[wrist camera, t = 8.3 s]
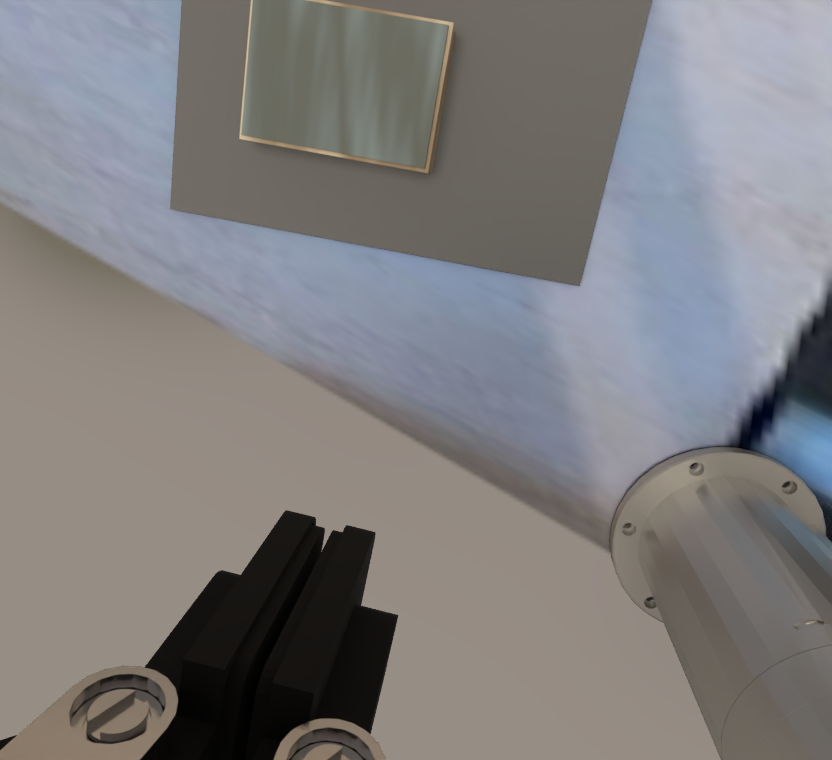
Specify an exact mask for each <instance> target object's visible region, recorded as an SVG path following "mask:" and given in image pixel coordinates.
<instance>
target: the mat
mask: <svg viewBox="0 0 832 760" xmlns="http://www.w3.org/2000/svg"><path fill="white" fill-rule="evenodd" d="M326 1H332V2H337V3H343V4H349V5H355V6H361V7H366V8H372V9H378V10H384V11H390V12H395V13H401V14H407V15H413V16H418V17H424V18H430V19H436V20H442V21H447V22H453V23H454V27H455V33H456V36H455V42H454V47H453V53H452V59H451V65H450V70H449V76H448V82H447V88H446V94H445V99H444V105H443V111H442V117H441V123H440V128H439V134H438V140H437V146H436V151H435V157H434V163H433V169H432V174H428V173H423V172H417V171H412V170H406V169H401V168H395V167H390V166H384V165H379V164H373V163H368V162H362V161H357V160H351V159H346V158H340V157H335V156H330V155H324V154H319V153H313V152H308V151H302V150H297V149H291V148H286V147H280V146H275V145H269V144H264V143H258V142H253V141H248V140H243V139H239V136H240V124H241V112H242V100H243V89H244V77H245V65H246V53H247V41H248V29H249V17H250V5H251V0H182V6H181V24H180V42H179V60H178V79H177V97H176V115H175V133H174V151H173V169H172V187H171V205H170V209H173V210H178V211H183V212H189V213H194V214H199V215H205V216H210V217H215V218H221V219H226V220H231V221H237V222H242V223H247V224H252V225H258V226H263V227H268V228H274V229H279V230H284V231H290V232H295V233H300V234H306V235H311V236H316V237H321V238H327V239H332V240H337V241H343V242H348V243H353V244H359V245H364V246H369V247H375V248H380V249H385V250H390V251H396V252H401V253H406V254H412V255H417V256H422V257H428V258H433V259H438V260H444V261H449V262H454V263H460V264H465V265H470V266H475V267H481V268H486V269H491V270H497V271H502V272H507V273H513V274H518V275H523V276H529V277H534V278H539V279H544V280H550V281H555V282H560V283H566V284H571V285H576V286H580V282H581V278H582V274H583V270H584V267H585V263H586V259H587V255H588V251H589V247H590V243H591V239H592V235H593V231H594V227H595V223H596V219H597V215H598V211H599V207H600V203H601V199H602V195H603V191H604V188H605V184H606V180H607V176H608V172H609V168H610V164H611V160H612V156H613V152H614V148H615V144H616V140H617V136H618V132H619V128H620V124H621V120H622V116H623V112H624V108H625V105H626V101H627V97H628V93H629V89H630V85H631V81H632V77H633V73H634V69H635V65H636V61H637V57H638V53H639V49H640V45H641V41H642V37H643V33H644V29H645V26H646V22H647V18H648V14H649V10H650V6H651V2H652V0H326Z"/></svg>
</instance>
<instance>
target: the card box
mask: <svg viewBox="0 0 832 760" xmlns="http://www.w3.org/2000/svg"><path fill="white" fill-rule="evenodd" d="M455 36H456V33H455V27H454V23H453V22H447V21H442V20H436V19H430V18H424V17H418V16H413V15H407V14H401V13H395V12H390V11H384V10H378V9H372V8H366V7H361V6H355V5H349V4H343V3H337V2H332V1H326V0H251V5H250V17H249V29H248V41H247V53H246V65H245V77H244V89H243V100H242V112H241V124H240V136H239V139H243V140H248V141H253V142H258V143H264V144H269V145H275V146H280V147H286V148H291V149H297V150H302V151H308V152H313V153H319V154H324V155H330V156H335V157H340V158H346V159H351V160H357V161H362V162H368V163H373V164H379V165H384V166H390V167H395V168H401V169H406V170H412V171H417V172H423V173H428V174H432V169H433V163H434V157H435V151H436V146H437V140H438V134H439V128H440V123H441V117H442V111H443V105H444V99H445V94H446V88H447V82H448V76H449V70H450V65H451V59H452V53H453V47H454V42H455Z"/></svg>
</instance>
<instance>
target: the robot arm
mask: <svg viewBox="0 0 832 760" xmlns="http://www.w3.org/2000/svg"><path fill="white" fill-rule="evenodd" d="M693 463H696V464H695V465H694V466H691V464H693ZM785 482H786V483H785ZM626 523H629V524H628V525H624V524H626ZM324 532H325V529H324V528H322V527H318V526H316V519H315V517H312V516H307V515H303V514H299V513H295V512H291V511H285V512H284V513H283V515H282V516H281V517H280V519H279V520H278V522H277V523H276V525H275V526H274V528H273V529H272V530H271V532H270V533H269V535H268V536H267V538H266V539H265V541H264V542H263V544H262V545H261V546H260V548H259V549H258V551H257V552H256V554H255V555H254V557H253V558H252V560H251V561H250V562H249V564H248V565H247V567H246V568H245V570H244V571H243V573H242V574H241V575H238V574H234V573H230V572H226V571H223V570H222V571H219V572H217V573H216V574H215V576H214V577H213V578H212V579H211V581H210V582H209V583H208V585H207V586H206V587H205V589H204V590H203V591H202V593H201V594H200V595H199V596H198V598H197V599H196V600H195V602H194V603H193V604H192V606H191V607H190V608H189V610H188V611H187V612H186V614H185V615H184V616H183V618H182V619H181V620H180V621H179V623H178V624H177V625H176V627H175V628H174V629H173V631H172V632H171V633H170V635H169V636H168V637H167V639H166V640H165V641H164V643H163V644H162V645H161V646H160V648H159V649H158V651H157V652H156V653H155V654H154V656H153V657H152V659H151V660H150V661H149V662H148V664H147V665H146V666H145V667H141V666H120V667H114V668H109V669H104V670H102V671H99V672H97V673H94V674H92V675H90V676H87V677H86V678H84V679H83V680H81V681H80V682H78V683H77V684H75V685H74V686H73V687H71V688H70V689H69V690H68V691H67V692H66V693H65V694H63V695H62V696H61V697H60V698H59V699H58V700H57V701H56V702H54V703H53V704H52V705H51V706H50V707H49V708H48V709H46V710H45V711H44V712H43V713H42V714H41V715H40V716H39V717H37V718H36V719H35V720H34V721H33V722H32V723H31V724H30V725H28V726H27V727H26V728H25V729H24V730H23V731H22V732H20V733H19V734H18V735H16V736H13V737H9V738H7V739H4V740H0V760H386V757H385V755H384V753H383V751H382V749H381V747H380V745H379V743H378V742H377V741H376V740H375V739H374V738H373V737H372V736H371V735H370V734H371V730H372V726H373V721H374V717H375V713H376V709H377V705H378V701H379V696H380V692H381V688H382V684H383V680H384V675H385V671H386V667H387V662H388V658H389V654H390V649H391V645H392V640H393V636H394V632H395V627H396V623H397V618H398V615H395V614H391V613H387V612H383V611H379V610H376V609H372V608H368V607H363V606H361V603H362V597H363V593H364V588H365V584H366V578H367V574H368V569H369V564H370V559H371V554H372V549H373V545H374V540H375V532H372V531H368V530H364V529H360V528H356V527H352V526H347V525H346V527H345V528H344V531H343V532H338V531H334V530H333V531H332V533H331V534H330V536H329V539H328V540H327V542H326V545H325V546H324V548H323V550H322V545H323V539H324ZM610 549H611V558H612V561H613V564H614V567H615V571H616V574H617V575H618V578H619V580H620V583H621V585H622V587H623V588H624V590H625V591H626V593H627V594H628V595H629V597H630V598H631V599H632V601H633V602H634V603H636V604H637V605H638V606H639V607H640V608H641V609H642V610H643V611H644V612H646V613H647V614H649V615H651V616H652V617H654V618H656V619H657V620H659V621H661V622H663V623H664V624H665V627H666V629H667V631H668V634H669V636H670V639H671V641H672V643H673V646H674V648H675V651H676V653H677V655H678V658H679V660H680V663H681V665H682V667H683V670H684V672H685V675H686V677H687V679H688V682H689V684H690V687H691V689H692V691H693V693H694V696H695V698H696V701H697V703H698V706H699V708H700V710H701V713H702V715H703V717H704V720H705V722H706V725H707V727H708V730H709V732H710V734H711V737H712V739H713V741H714V744H715V746H716V748H717V751H718V753H719V756H720V758H721V760H832V542H831V541H830V540H829V539H828V538H827V537H826V525H825V521H824V516H823V512H822V510H821V507H820V505H819V503H818V501H817V499H816V497H815V495H814V494H813V493H812V492H811V490H810V489H809V488H808V487H807V485H806V484H805V483H804V482H803V481H802V480H801V479H800V478H799V477H798V476H797V475H796V474H795V473H794V472H792V471H791V470H790V469H789V468H787V467H786V466H784V465H783V464H781V463H780V462H778V461H776V460H775V459H773V458H771V457H768V456H766V455H763V454H761V453H758V452H755V451H751V450H745V449H740V448H735V447H711V448H705V449H698V450H693V451H689V452H686V453H683V454H680V455H677V456H674V457H672V458H670V459H668V460H666V461H664V462H662V463H660V464H659V465H657V466H655V467H654V468H652V469H651V470H650V471H649V472H647V473H646V474H645V475H643V476H642V477H641V478H640V479H639V480H638V481H637V482H636V483H635V484H634V485H633V486H632V487H631V488H630V490H629V491H628V492H627V493H626V495H625V497H624V498H623V500H622V502H621V503H620V505H619V506H618V509H617V511H616V514H615V517H614V520H613V522H612V527H611V535H610ZM321 550H322V552H321Z"/></svg>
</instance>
